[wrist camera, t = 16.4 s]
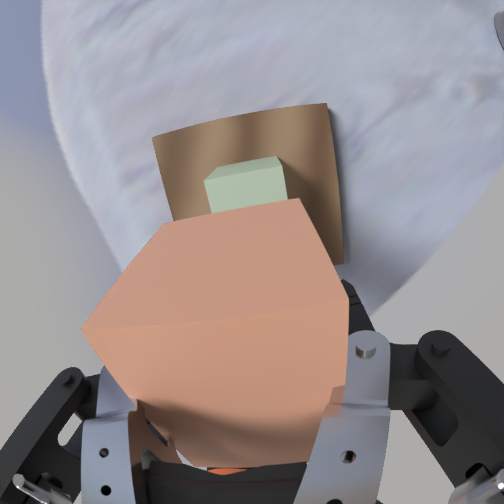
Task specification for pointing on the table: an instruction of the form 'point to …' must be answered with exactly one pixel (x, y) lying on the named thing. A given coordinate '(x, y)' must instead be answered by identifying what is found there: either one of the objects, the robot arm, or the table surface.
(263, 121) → the base board
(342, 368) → the brick
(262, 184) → the brick
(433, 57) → the table surface
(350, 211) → the table surface
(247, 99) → the table surface
